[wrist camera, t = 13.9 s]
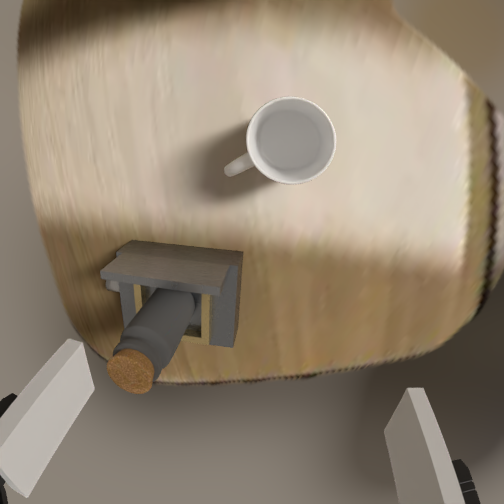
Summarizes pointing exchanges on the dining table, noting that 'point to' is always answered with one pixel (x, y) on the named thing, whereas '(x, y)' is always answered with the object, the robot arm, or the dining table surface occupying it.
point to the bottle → (151, 340)
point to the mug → (287, 142)
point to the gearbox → (181, 285)
